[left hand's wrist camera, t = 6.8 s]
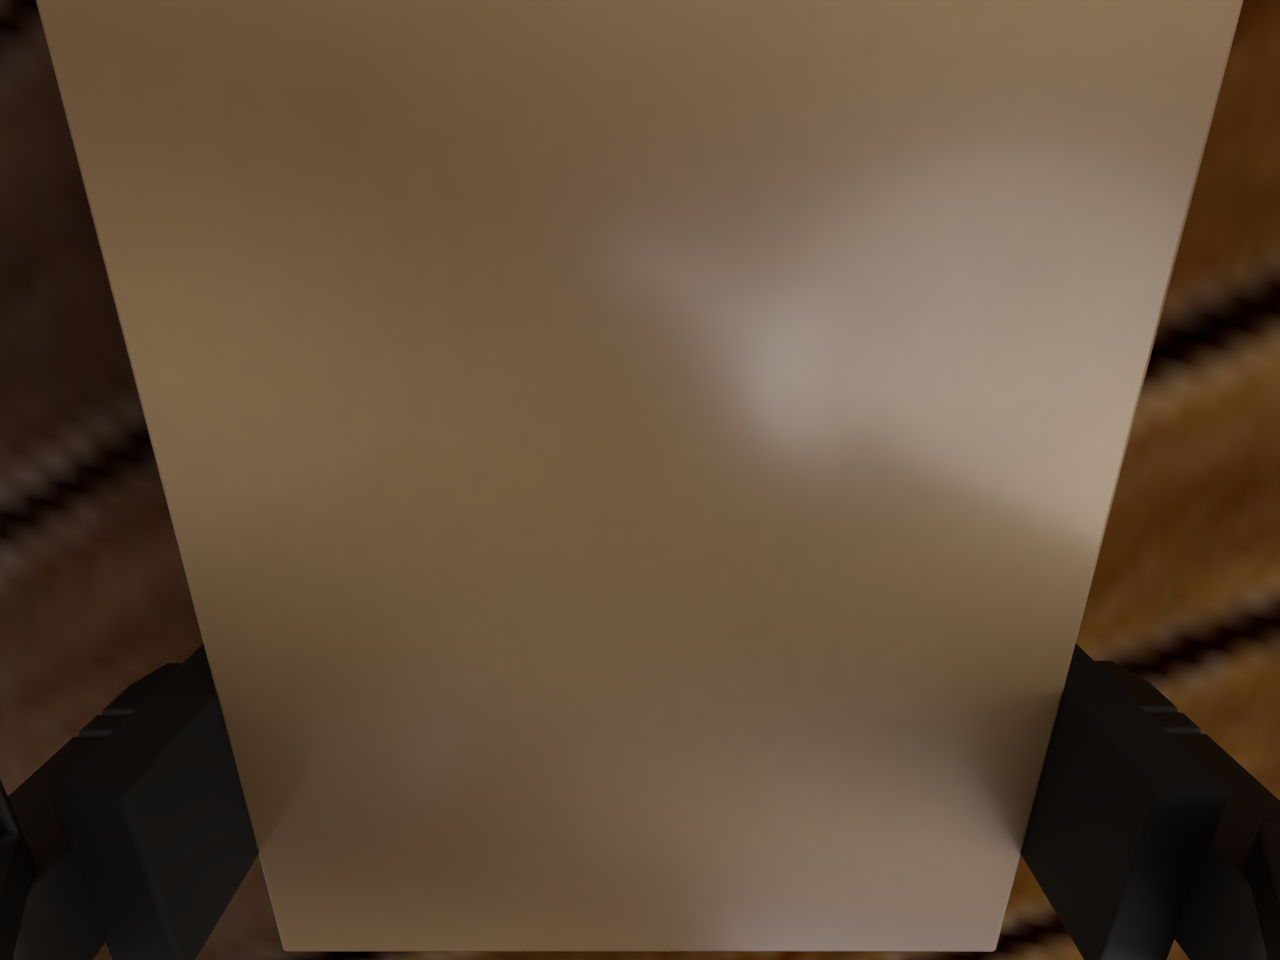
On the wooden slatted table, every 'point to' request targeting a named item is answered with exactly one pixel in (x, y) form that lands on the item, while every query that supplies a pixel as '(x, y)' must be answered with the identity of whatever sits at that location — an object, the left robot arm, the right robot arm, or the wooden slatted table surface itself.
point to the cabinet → (639, 434)
